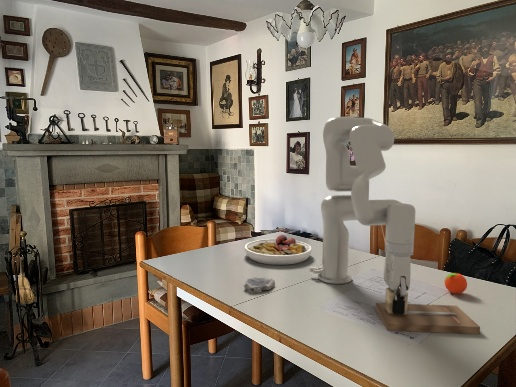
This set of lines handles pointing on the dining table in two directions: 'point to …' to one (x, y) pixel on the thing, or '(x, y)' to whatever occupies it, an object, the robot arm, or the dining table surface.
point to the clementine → (455, 283)
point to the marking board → (429, 319)
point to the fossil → (258, 284)
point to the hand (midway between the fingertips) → (395, 309)
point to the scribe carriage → (390, 298)
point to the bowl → (278, 251)
